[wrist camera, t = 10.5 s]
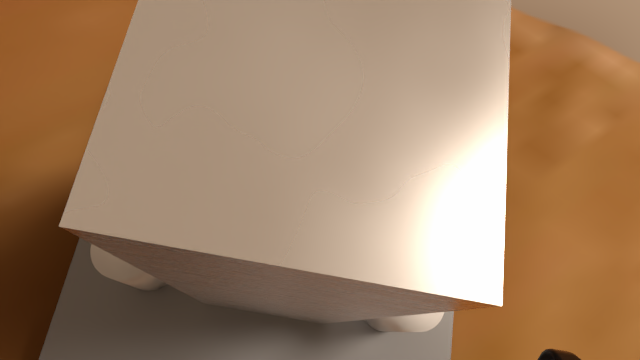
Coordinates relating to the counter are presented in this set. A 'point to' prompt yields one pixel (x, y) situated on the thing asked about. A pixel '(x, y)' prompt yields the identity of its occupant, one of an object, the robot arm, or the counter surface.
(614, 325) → the counter surface
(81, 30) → the counter surface
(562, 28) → the counter surface
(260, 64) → the white tall rectangular block
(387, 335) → the pin tray
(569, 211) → the counter surface
